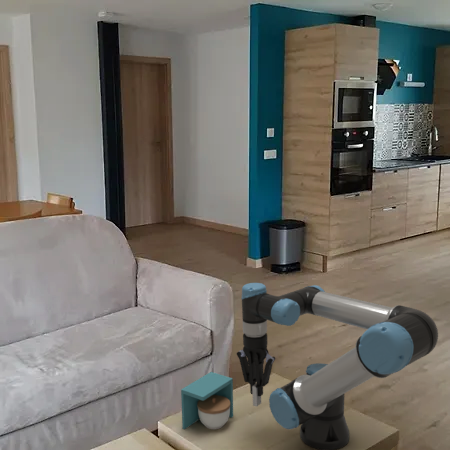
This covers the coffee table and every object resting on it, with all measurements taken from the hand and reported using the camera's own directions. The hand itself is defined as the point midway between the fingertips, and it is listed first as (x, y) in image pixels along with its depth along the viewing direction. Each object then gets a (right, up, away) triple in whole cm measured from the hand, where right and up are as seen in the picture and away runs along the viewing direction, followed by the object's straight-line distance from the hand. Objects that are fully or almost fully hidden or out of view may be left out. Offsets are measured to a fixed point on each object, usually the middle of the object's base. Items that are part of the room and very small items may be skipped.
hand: (257, 404), depth 187 cm
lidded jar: (-14, -9, +7) cm, 18 cm away
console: (-16, -8, +8) cm, 20 cm away
